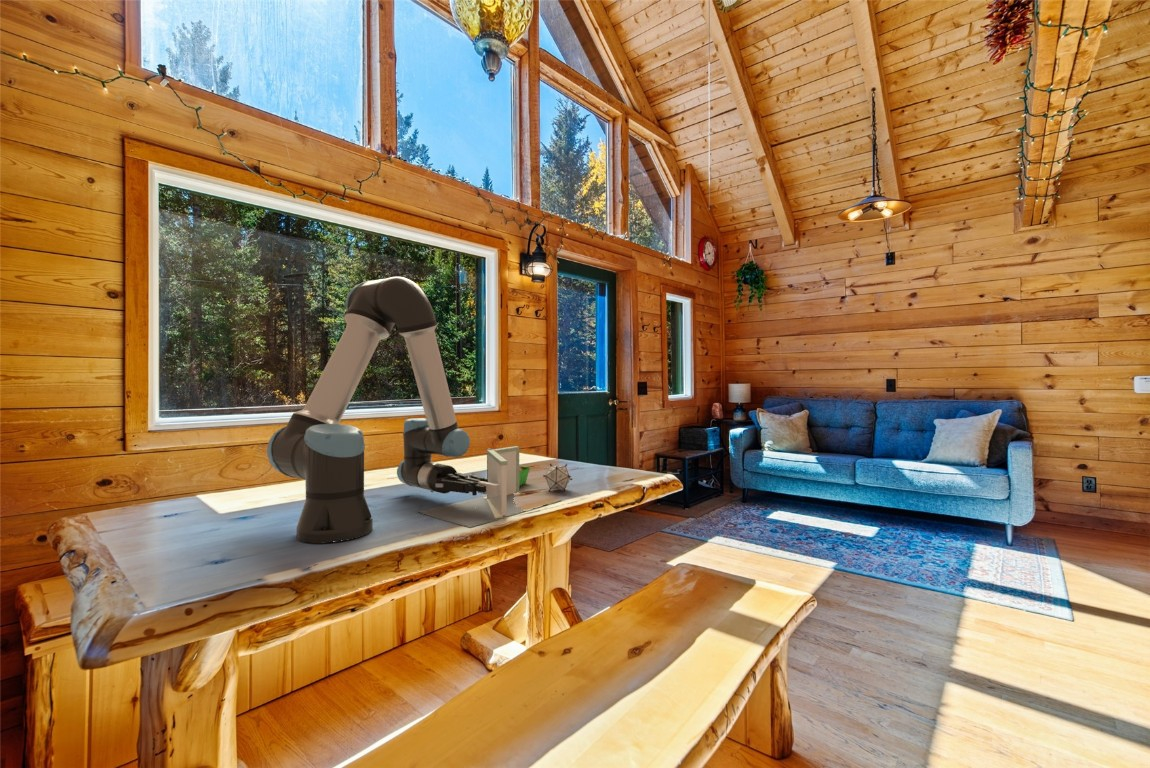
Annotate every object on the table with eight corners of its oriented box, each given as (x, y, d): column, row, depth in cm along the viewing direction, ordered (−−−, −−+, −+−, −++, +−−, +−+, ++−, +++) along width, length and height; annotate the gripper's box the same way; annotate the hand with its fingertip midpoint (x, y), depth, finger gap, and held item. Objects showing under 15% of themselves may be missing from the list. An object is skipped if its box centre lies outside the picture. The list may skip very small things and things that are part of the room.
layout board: (470, 528, 116) (470, 526, 116) (418, 512, 129) (418, 511, 129) (561, 501, 141) (561, 499, 141) (510, 490, 154) (510, 489, 154)
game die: (562, 501, 155) (580, 474, 158) (559, 498, 147) (578, 469, 150) (538, 485, 158) (556, 458, 160) (533, 481, 150) (553, 452, 152)
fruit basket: (515, 490, 154) (515, 453, 154) (489, 488, 157) (489, 451, 157) (531, 483, 165) (531, 448, 165) (506, 481, 168) (506, 446, 167)
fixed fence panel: (495, 498, 144) (495, 450, 144) (491, 497, 145) (491, 449, 145) (519, 492, 151) (519, 446, 151) (515, 491, 152) (515, 446, 152)
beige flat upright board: (507, 516, 125) (507, 460, 124) (500, 517, 124) (500, 460, 124) (491, 497, 144) (492, 448, 144) (486, 497, 144) (486, 448, 143)
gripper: (457, 487, 145) (516, 500, 131) (418, 495, 135) (476, 511, 120) (457, 461, 145) (516, 471, 130) (418, 467, 135) (476, 479, 120)
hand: (497, 490), depth 125 cm, fingers closed
